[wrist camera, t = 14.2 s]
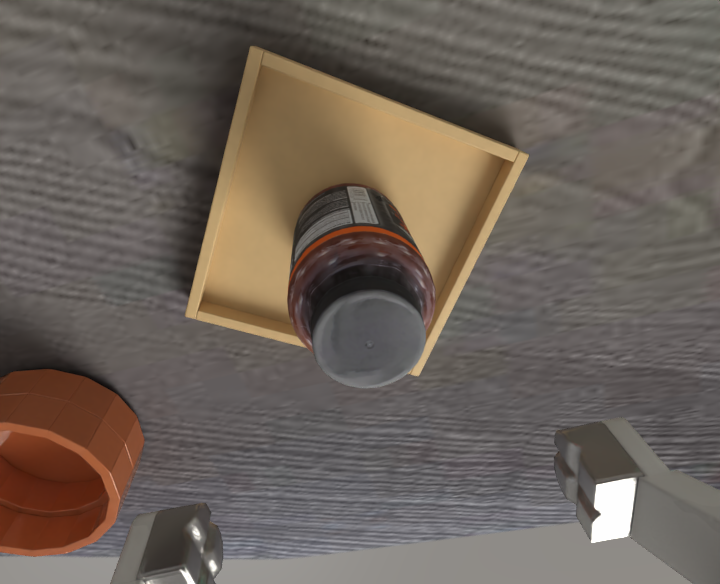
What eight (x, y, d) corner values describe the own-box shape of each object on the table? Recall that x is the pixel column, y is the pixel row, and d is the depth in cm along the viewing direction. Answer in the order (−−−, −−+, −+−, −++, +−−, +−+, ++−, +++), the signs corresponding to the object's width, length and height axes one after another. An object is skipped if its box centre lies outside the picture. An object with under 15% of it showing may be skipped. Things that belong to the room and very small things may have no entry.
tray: (191, 302, 28) (184, 316, 27) (254, 45, 23) (250, 45, 21) (413, 361, 32) (418, 376, 30) (517, 148, 26) (530, 155, 25)
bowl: (-31, 473, 33) (-85, 541, 28) (-26, 348, 29) (-88, 404, 24) (131, 501, 35) (105, 567, 31) (157, 388, 31) (131, 446, 27)
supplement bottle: (416, 260, 28) (474, 382, 18) (319, 296, 28) (323, 435, 18) (381, 161, 25) (427, 239, 15) (275, 203, 26) (251, 305, 16)
